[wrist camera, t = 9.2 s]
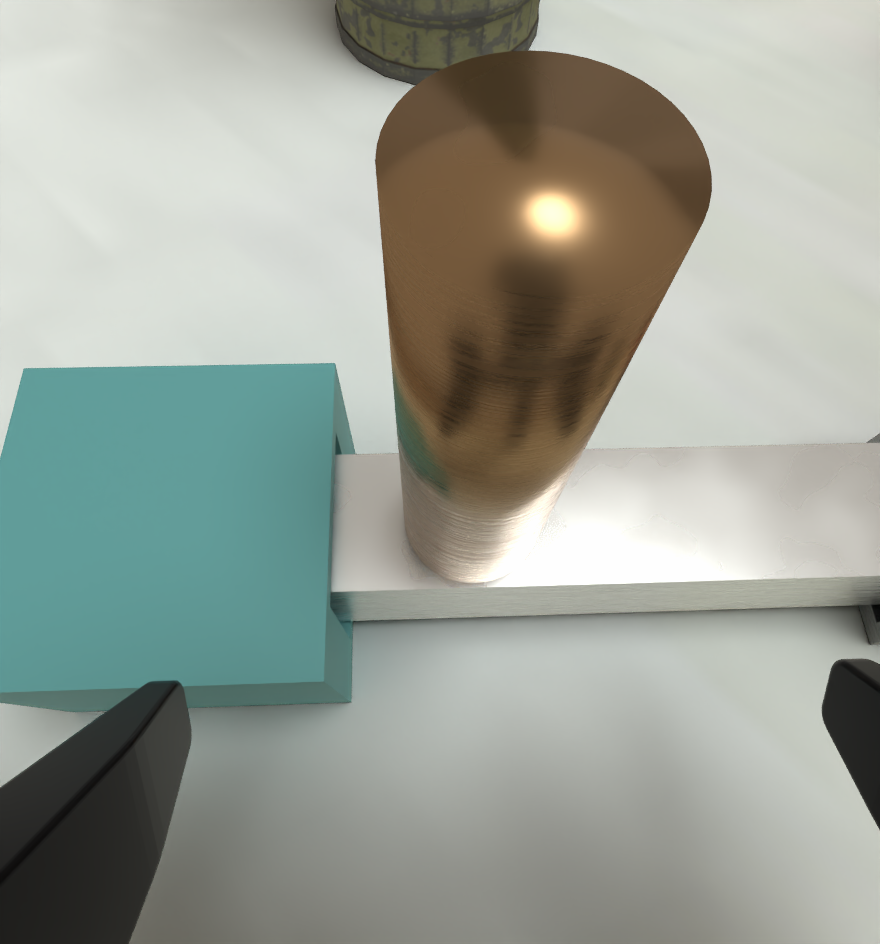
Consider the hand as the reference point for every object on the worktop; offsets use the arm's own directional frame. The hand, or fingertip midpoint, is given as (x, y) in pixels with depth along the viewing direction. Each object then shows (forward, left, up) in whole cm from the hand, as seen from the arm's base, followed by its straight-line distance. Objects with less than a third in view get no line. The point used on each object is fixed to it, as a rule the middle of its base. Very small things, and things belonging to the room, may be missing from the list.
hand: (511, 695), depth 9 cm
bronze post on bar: (+6, 0, -7) cm, 9 cm away
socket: (-2, +8, -8) cm, 11 cm away
